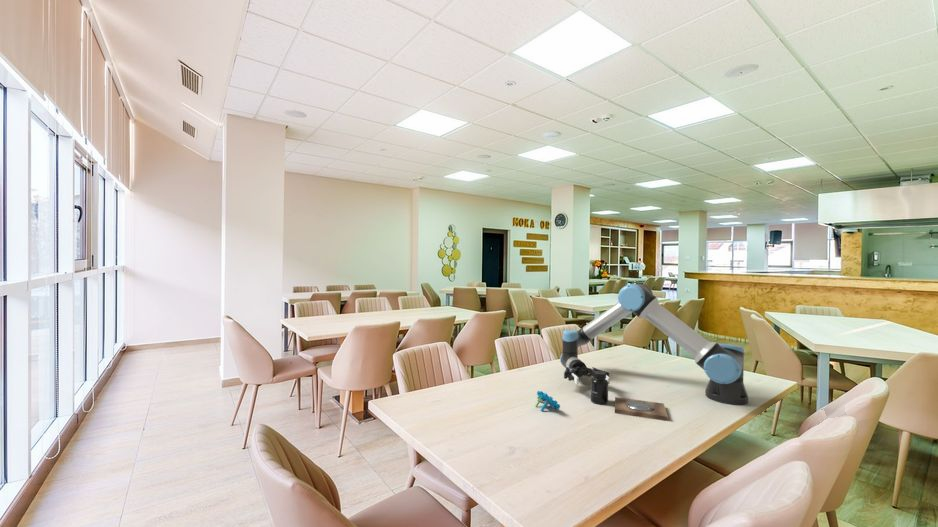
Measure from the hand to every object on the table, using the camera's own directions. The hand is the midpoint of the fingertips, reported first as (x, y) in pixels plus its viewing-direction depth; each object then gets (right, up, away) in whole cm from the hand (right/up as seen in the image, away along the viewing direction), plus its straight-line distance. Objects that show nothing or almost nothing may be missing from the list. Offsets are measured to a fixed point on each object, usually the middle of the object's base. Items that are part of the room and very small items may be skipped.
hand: (593, 381), depth 162 cm
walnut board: (+14, -7, -14) cm, 20 cm away
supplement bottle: (+1, -7, -5) cm, 9 cm away
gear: (-22, -7, -14) cm, 27 cm away
